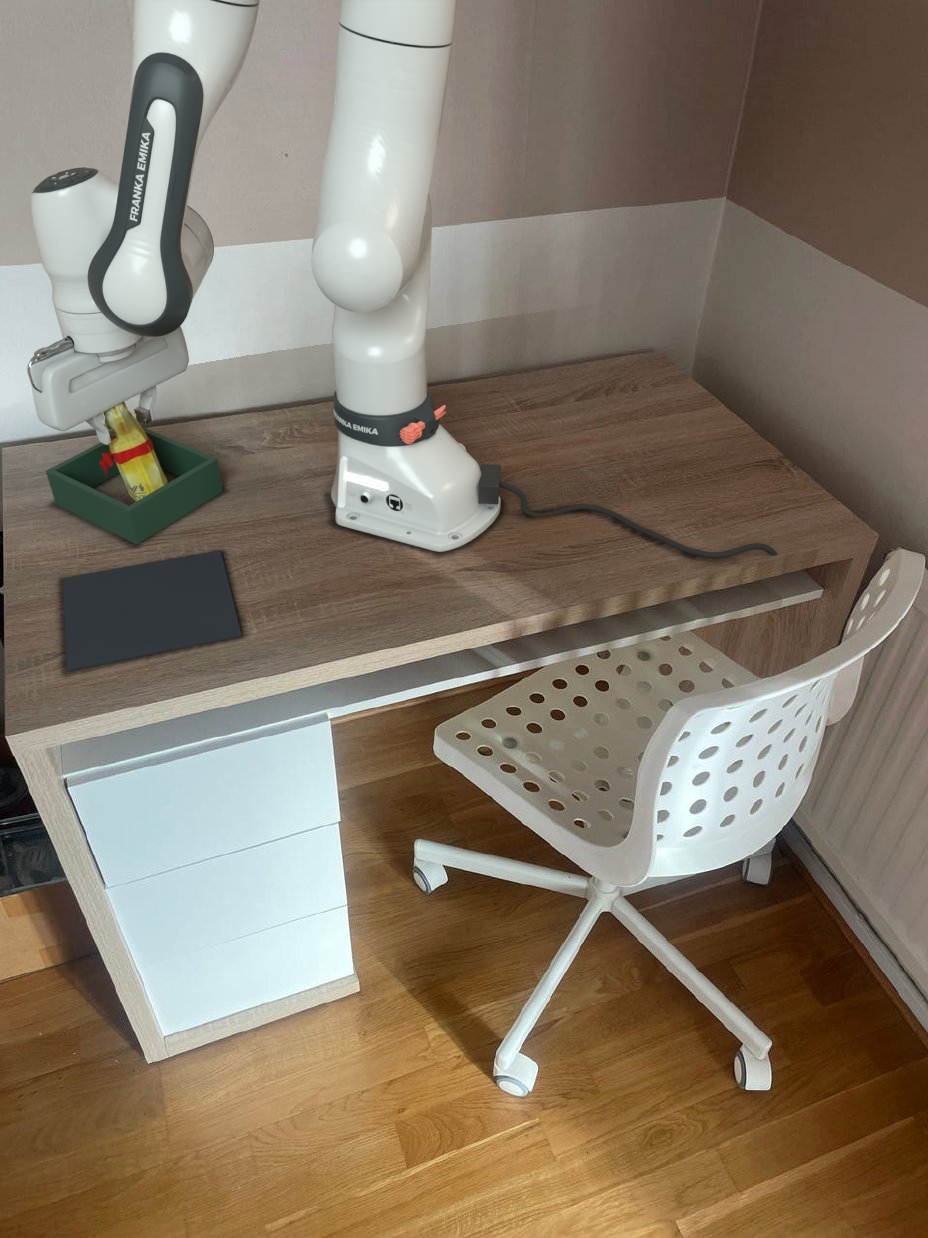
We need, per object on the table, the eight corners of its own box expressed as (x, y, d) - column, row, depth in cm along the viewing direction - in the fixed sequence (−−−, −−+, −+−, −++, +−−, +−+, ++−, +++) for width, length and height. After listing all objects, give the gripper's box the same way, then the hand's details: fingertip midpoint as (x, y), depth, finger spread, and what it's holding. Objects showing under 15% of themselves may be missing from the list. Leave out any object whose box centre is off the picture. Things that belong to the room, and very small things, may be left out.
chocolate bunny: (159, 464, 130) (118, 364, 120) (179, 506, 123) (137, 402, 112) (109, 482, 128) (63, 382, 118) (127, 525, 121) (79, 422, 111)
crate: (223, 491, 127) (217, 458, 124) (136, 545, 118) (128, 510, 115) (143, 456, 134) (136, 423, 131) (55, 504, 125) (45, 470, 121)
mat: (221, 552, 117) (220, 550, 117) (242, 636, 106) (241, 633, 106) (63, 580, 113) (63, 578, 112) (67, 671, 101) (66, 668, 101)
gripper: (41, 363, 103) (75, 476, 112) (186, 300, 116) (206, 405, 125) (4, 349, 106) (40, 459, 115) (149, 288, 119) (171, 392, 127)
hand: (127, 431), depth 120 cm, fingers closed on chocolate bunny, 4 cm apart
